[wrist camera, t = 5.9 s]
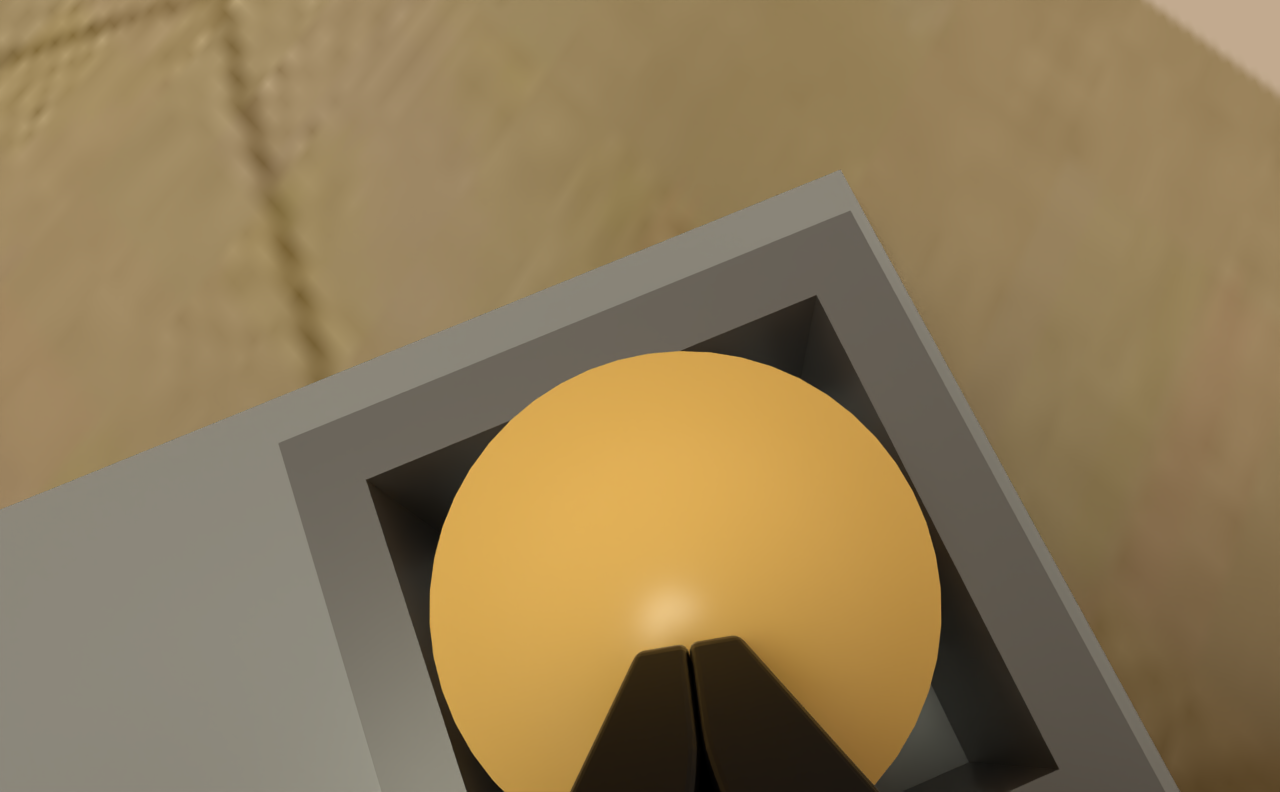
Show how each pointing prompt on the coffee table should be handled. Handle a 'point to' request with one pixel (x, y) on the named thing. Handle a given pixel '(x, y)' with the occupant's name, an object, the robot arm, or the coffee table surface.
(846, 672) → the amber button
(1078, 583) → the coffee table surface
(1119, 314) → the coffee table surface
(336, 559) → the button panel
